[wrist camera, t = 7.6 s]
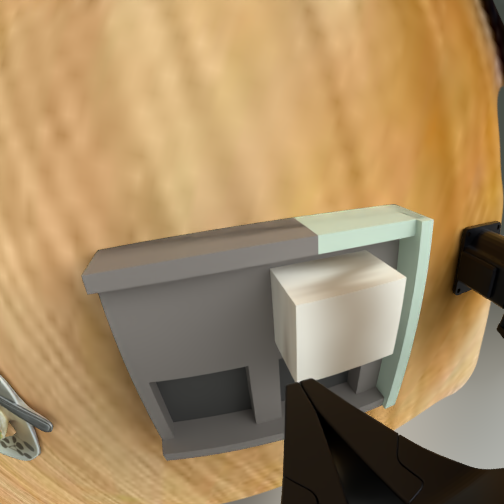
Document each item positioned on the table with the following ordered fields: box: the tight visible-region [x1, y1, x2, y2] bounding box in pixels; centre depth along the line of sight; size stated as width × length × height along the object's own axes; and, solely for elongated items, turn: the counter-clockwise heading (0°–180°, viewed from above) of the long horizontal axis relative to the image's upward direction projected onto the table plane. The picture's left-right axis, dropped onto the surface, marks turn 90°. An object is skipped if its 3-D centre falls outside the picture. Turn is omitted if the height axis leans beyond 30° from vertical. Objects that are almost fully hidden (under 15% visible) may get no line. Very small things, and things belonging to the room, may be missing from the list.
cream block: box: [270, 250, 407, 382], centre depth 16 cm, size 6×5×4 cm
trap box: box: [82, 204, 434, 460], centre depth 19 cm, size 19×16×4 cm
